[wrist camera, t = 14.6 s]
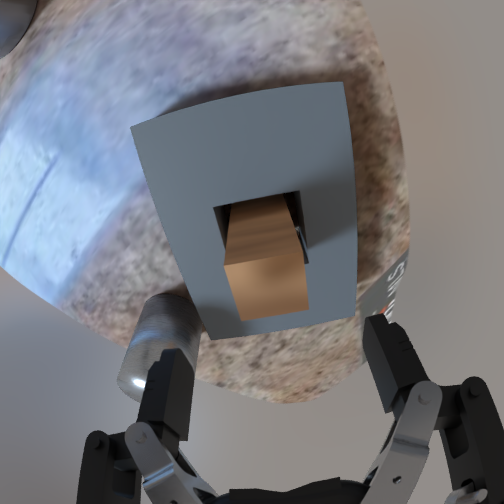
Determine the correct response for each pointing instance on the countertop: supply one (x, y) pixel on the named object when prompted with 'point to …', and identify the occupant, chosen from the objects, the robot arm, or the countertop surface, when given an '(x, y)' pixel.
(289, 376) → the countertop surface
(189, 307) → the round peg
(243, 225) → the square peg
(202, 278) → the socket block
